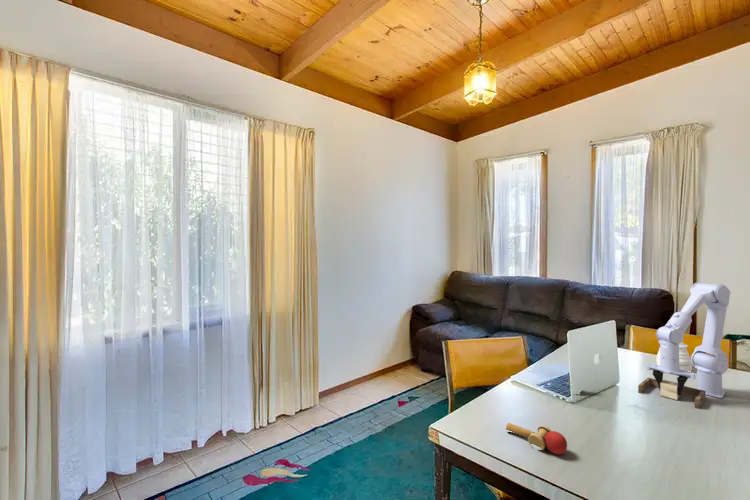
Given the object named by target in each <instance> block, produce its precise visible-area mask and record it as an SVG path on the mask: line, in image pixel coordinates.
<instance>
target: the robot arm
mask: <svg viewBox="0 0 750 500" xmlns="http://www.w3.org/2000/svg"><path fill="white" fill-rule="evenodd" d="M689 293H690V295H689V297H688V299H687V300H686V302H685V304H684V305H683V307H682V308H681V309H680V311H677V312H674V313H673V314H672V315H671V316H670V319H669V320H668V321H667V323H666V324H665V325H664V326H661V327H659V328H658V329H657V330H656V333H655V336H656V339H657V340H658V344H659V348H660V364H661V366H659V365H657V364H652V363H651V364H650V363H647V364H646V371H647V370H648V371H652V375H653V377H654V379H656V381H657V383H658V386H659V388H658V391H660V383H661V382H662V381H663V380H664V379H663V378H664V374H668V375H674V376H677V377H676V380H677V383H678V395H680V396H681V395H682V394H681V393H682V389H683V386H685V384H686V382H687V380H688V379H690V380H693V381H694V380H695V379H696V381H697V382H696V385H697V386H696V388H695V389H700V390H704V391H705V396H710V397H712V398H713V397H715V398H718V399H723V397H724V396H725V394H726V390H723V374H725V373H726V372H727V371H728V369H729V362H728V358H729V357H728V355H727V354H726V353H725V352H724V351H723V350H722V348H721V345H722V341H723V334H724V328H725V327H724V326H725V322H726V315H727V310H728V306H729V302H730V297H731V290H730V289H729V288H728V286H726V285H725V284H722V283H721V284H716V283H707V282H706V283H705V282H695V283H693V285H691V287H690V289H689ZM703 304H705V305H706V307H707V312H706V319H705V324H704V328H703V329H704V330H703V334H702V335H703V336H702V342H701V344H700V345H698V346H696V347H694V351H693V353H692V354H691V356H690V359H691V362H692V363H691V364H692V365H694V368H695V369H696V373H694V372H687V371H684V370H680V367H679V343H681V342H683V340H685V339H684V338H685V336H684V335H685V333H686V329H687V328H688V327H689V326H690V325H691V324H692V322H693V320H692V316H693V315H694V314H695V312H696V313H697V310H699V308H700V307H702V305H703ZM696 377H697V378H696Z"/></svg>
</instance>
